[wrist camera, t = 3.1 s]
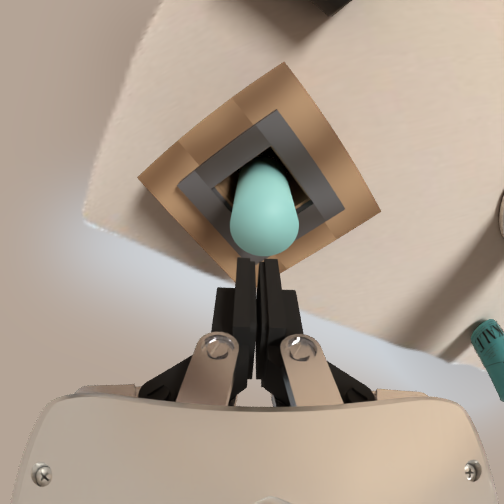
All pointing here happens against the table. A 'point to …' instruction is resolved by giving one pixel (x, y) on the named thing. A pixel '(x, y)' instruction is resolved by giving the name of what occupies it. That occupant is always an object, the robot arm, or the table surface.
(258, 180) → the peg
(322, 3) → the end cap
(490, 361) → the beverage bottle
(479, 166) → the table surface
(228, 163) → the socket block
